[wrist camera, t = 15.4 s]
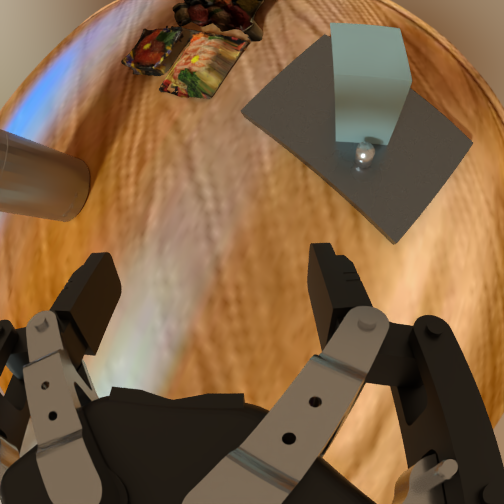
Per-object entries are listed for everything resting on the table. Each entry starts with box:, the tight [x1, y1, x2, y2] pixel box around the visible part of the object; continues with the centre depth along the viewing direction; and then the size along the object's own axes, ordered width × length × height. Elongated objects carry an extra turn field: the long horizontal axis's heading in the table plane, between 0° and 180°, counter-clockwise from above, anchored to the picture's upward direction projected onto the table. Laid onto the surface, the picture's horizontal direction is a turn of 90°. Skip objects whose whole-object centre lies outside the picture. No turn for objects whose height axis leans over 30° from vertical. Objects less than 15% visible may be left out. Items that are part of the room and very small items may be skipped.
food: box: [121, 0, 264, 99], centre depth 31 cm, size 22×19×4 cm
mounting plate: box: [241, 34, 473, 245], centre depth 25 cm, size 20×14×4 cm
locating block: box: [330, 23, 412, 145], centre depth 20 cm, size 5×5×11 cm
